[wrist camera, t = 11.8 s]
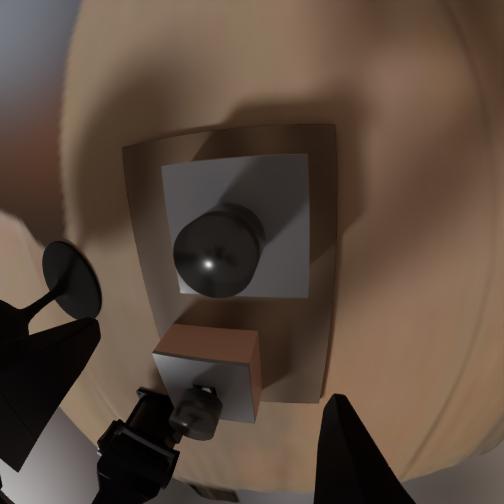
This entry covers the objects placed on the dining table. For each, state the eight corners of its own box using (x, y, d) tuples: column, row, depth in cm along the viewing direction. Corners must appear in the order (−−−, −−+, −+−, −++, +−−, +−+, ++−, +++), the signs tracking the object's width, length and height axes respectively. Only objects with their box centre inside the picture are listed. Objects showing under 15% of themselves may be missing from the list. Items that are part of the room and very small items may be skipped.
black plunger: (225, 240, 19) (180, 295, 12) (220, 190, 18) (167, 219, 11) (276, 240, 19) (258, 300, 11) (274, 187, 17) (252, 216, 10)
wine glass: (114, 290, 25) (-22, 425, 6) (87, 333, 29) (-7, 436, 10) (55, 221, 23) (-91, 305, 5) (38, 276, 27) (-65, 355, 9)
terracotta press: (189, 380, 27) (175, 410, 23) (172, 323, 24) (151, 353, 20) (262, 390, 25) (254, 423, 21) (258, 330, 22) (248, 366, 18)
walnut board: (179, 385, 28) (177, 389, 28) (126, 147, 19) (122, 147, 19) (318, 399, 25) (318, 403, 25) (334, 125, 16) (335, 124, 16)
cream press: (203, 265, 21) (180, 292, 17) (191, 161, 18) (161, 166, 14) (308, 266, 19) (308, 297, 15) (306, 153, 17) (307, 154, 13)
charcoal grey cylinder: (203, 373, 25) (175, 434, 18) (196, 347, 24) (163, 411, 17) (238, 377, 24) (216, 443, 17) (234, 351, 23) (208, 421, 16)
